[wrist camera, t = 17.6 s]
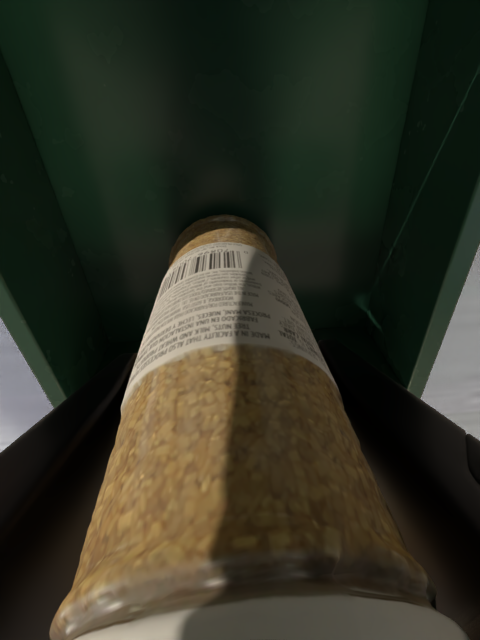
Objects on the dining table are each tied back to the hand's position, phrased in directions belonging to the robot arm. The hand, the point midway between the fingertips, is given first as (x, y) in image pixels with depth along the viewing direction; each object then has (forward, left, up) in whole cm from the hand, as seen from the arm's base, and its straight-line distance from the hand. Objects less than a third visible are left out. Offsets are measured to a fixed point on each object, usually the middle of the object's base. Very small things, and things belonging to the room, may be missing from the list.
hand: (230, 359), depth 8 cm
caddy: (+2, 0, -8) cm, 8 cm away
